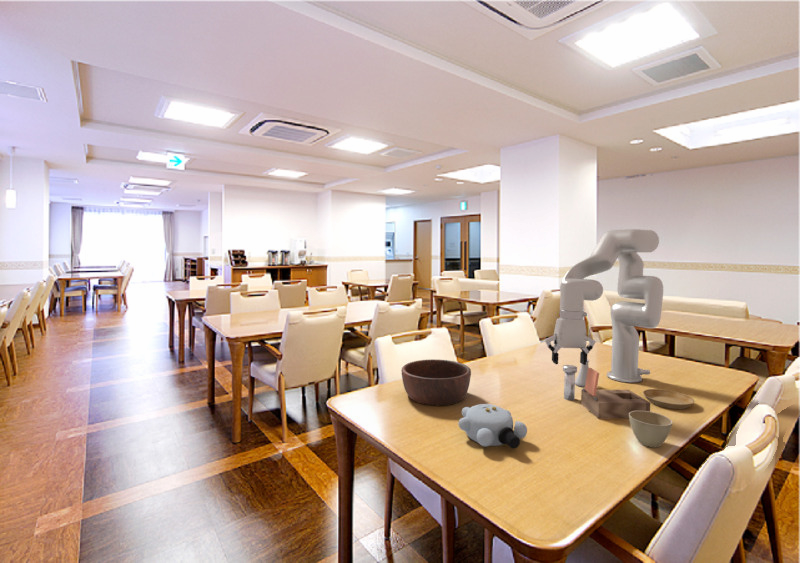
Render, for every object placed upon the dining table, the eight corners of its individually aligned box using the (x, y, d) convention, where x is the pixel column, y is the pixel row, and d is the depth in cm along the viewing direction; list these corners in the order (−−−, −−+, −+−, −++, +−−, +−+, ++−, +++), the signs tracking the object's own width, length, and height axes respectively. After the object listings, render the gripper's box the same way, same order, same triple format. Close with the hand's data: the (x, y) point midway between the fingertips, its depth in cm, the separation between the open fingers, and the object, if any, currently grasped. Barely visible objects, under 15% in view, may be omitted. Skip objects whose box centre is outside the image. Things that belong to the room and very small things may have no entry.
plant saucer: (659, 393, 147) (659, 386, 147) (703, 407, 133) (704, 399, 133) (633, 399, 141) (633, 392, 140) (677, 415, 127) (677, 407, 127)
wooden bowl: (484, 395, 145) (484, 367, 144) (442, 415, 127) (442, 384, 126) (430, 380, 162) (430, 355, 161) (387, 396, 144) (387, 368, 143)
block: (628, 403, 136) (628, 386, 136) (649, 418, 124) (650, 399, 124) (579, 403, 136) (580, 386, 136) (596, 418, 124) (597, 399, 124)
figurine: (446, 427, 118) (486, 467, 100) (447, 400, 116) (488, 436, 98) (494, 417, 125) (540, 453, 106) (496, 391, 123) (543, 423, 105)
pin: (572, 396, 143) (573, 364, 143) (578, 401, 139) (579, 368, 138) (560, 396, 143) (560, 365, 143) (565, 401, 139) (566, 368, 138)
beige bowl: (672, 455, 101) (673, 428, 101) (627, 446, 107) (628, 420, 106) (670, 440, 110) (671, 415, 109) (628, 431, 115) (629, 407, 114)
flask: (596, 388, 152) (597, 362, 151) (576, 387, 153) (577, 361, 152) (591, 382, 159) (592, 357, 158) (572, 381, 160) (572, 356, 159)
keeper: (584, 389, 133) (587, 389, 133) (593, 395, 127) (595, 396, 127) (588, 367, 132) (590, 367, 132) (596, 372, 126) (599, 373, 126)
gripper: (591, 314, 143) (588, 361, 144) (542, 313, 143) (540, 360, 144) (601, 317, 135) (599, 367, 136) (550, 316, 135) (548, 366, 136)
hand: (569, 363), depth 140 cm, fingers open, 9 cm apart
